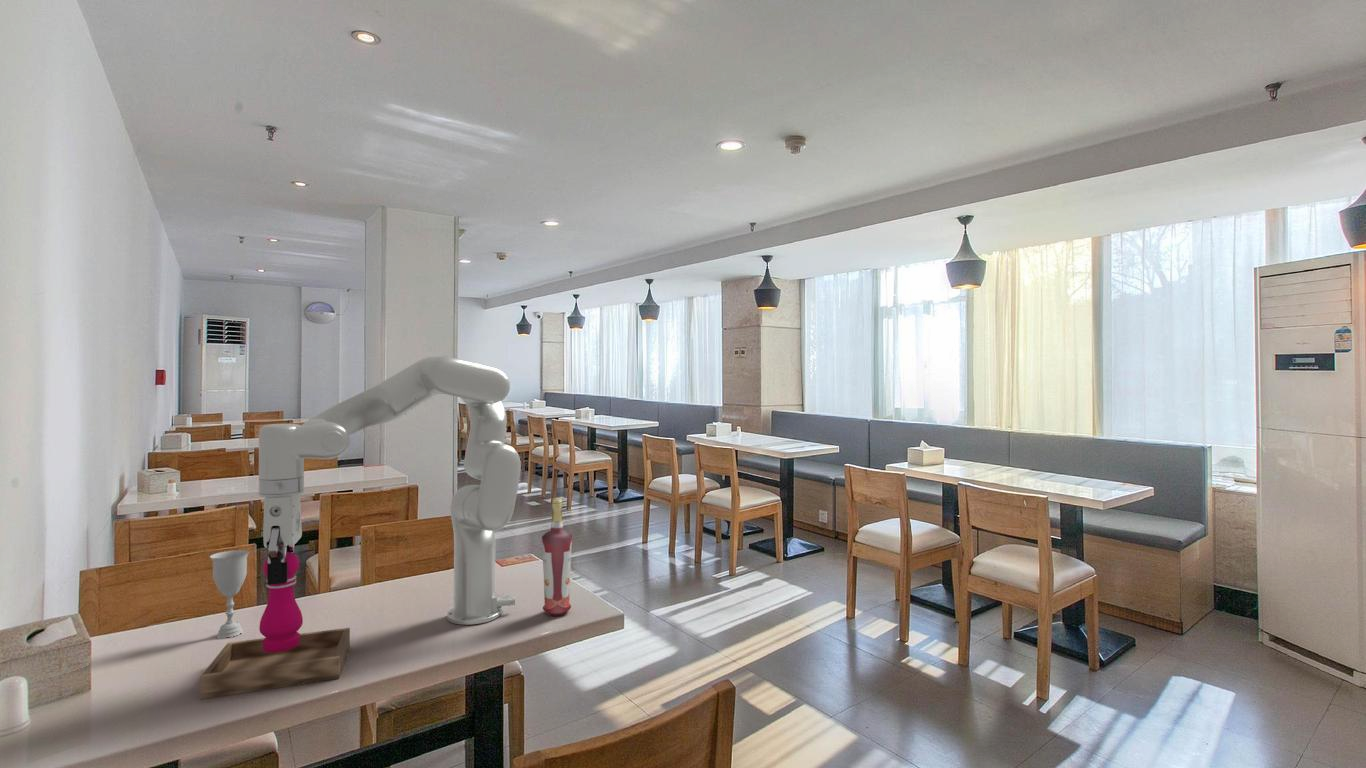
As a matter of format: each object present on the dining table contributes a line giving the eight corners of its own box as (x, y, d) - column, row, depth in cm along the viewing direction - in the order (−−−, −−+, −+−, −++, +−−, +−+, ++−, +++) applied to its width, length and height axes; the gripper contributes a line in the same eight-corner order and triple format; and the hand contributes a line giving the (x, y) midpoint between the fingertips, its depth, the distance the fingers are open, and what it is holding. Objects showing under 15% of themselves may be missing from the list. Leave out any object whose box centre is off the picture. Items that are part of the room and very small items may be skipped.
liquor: (573, 616, 153) (573, 501, 153) (542, 619, 152) (542, 502, 152) (571, 606, 161) (571, 495, 160) (541, 608, 159) (541, 497, 159)
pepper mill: (281, 655, 120) (282, 550, 120) (249, 652, 122) (249, 548, 122) (311, 640, 128) (311, 541, 127) (280, 637, 129) (280, 539, 129)
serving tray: (349, 646, 136) (349, 627, 136) (338, 678, 121) (338, 657, 121) (227, 662, 128) (227, 642, 128) (200, 699, 113) (200, 677, 113)
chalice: (207, 642, 138) (206, 560, 138) (213, 631, 144) (213, 552, 144) (247, 636, 141) (247, 555, 141) (251, 626, 147) (251, 548, 147)
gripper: (294, 492, 118) (294, 589, 118) (311, 479, 134) (311, 564, 134) (246, 495, 115) (246, 594, 115) (270, 481, 131) (270, 568, 131)
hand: (281, 577), depth 125 cm, fingers closed on pepper mill, 5 cm apart
